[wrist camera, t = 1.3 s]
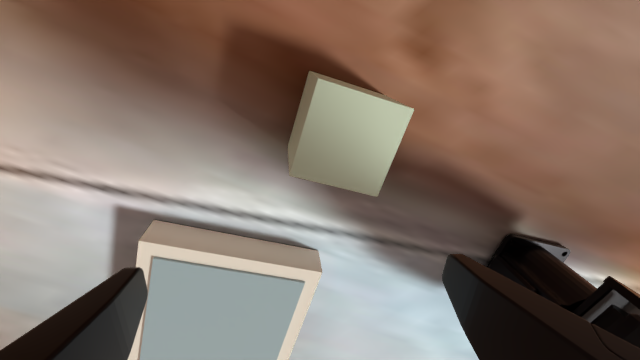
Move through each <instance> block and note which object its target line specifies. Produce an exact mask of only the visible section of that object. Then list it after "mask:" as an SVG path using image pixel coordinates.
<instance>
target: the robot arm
mask: <svg viewBox="0 0 640 360" xmlns="http://www.w3.org/2000/svg"><path fill="white" fill-rule="evenodd" d="M511 240H512V241H511ZM569 254H570V250H569V249H567V248H566V247H564V246H560V245H556V244H552V243H547V242H543V241H539V240H535V239H530V238H526V237H522V236H518V235H514V234H510V235H508V236H506V237H505V239H504V240H503V242H502V243H501V245H500V247H499V248H498V250H497V251H496V253H495V254H494V256H493V258H492V259H491V261H490V262H489V264H488V266H487V267H486V266H484V265H482V264H480V263H478V262H476V261H474V260H473V259H471V258H469V257H467V256H465V255H463V254H450V255H449V256H448V257H447V260H446V263H445V267H444V270H443V274H442V280H443V284H444V286H445V288H446V291H447V293H448V295H449V298H450V300H451V303H452V305H453V307H454V310H455V312H456V314H457V317H458V319H459V322H460V324H461V326H462V328H463V330H464V332H465V334H466V336H467V338H468V340H469V341H470V343H471V345H472V347H473V349H474V351H475V353H476V354H477V356H478V358H479V360H640V294H638V293H636V292H635V291H633V290H631V289H630V288H628V287H627V286H625V285H623V284H622V283H620V282H619V281H617V280H615V279H614V278H612V277H610V276H608V277H607V278H606V279H605V280H604V281H603V282H604V283H603V284H602V285H601V286H600V287H599V288H598V289H597V288H596V287H594V286H593V285H592V284H590V283H589V282H588V281H586V280H585V279H584V278H583V277H581V276H580V275H579V274H577V273H576V272H575V271H573V270H572V269H571V268H569V267H568V266H567V265H566V264H564V263H563V262H564V261H565V260H566V258H567V257H568V256H569ZM147 296H148V290H147V285H146V281H145V276H144V272H143V270H142V268H140V267H130V268H124V269H122V270H120V271H119V272H117V273H116V274H114V275H113V276H111V277H110V278H108V279H107V280H105V281H104V282H102V283H101V284H99V285H98V286H96V287H95V288H93V289H92V290H90V291H89V292H87V293H86V294H84V295H83V296H81V297H80V298H78V299H77V300H75V301H74V302H72V303H71V304H69V305H68V306H66V307H65V308H63V309H62V310H60V311H59V312H57V313H56V314H54V315H53V316H51V317H50V318H48V319H47V320H45V321H44V322H42V323H41V324H39V325H38V326H36V327H35V328H33V329H32V330H30V331H29V332H27V333H26V334H24V335H23V336H21V337H20V338H18V339H17V340H15V341H14V342H12V343H11V344H9V345H8V346H6V347H5V348H3V349H2V350H0V360H128V357H129V355H130V352H131V349H132V346H133V343H134V340H135V336H136V333H137V330H138V327H139V323H140V320H141V317H142V313H143V310H144V307H145V304H146V300H147Z"/></svg>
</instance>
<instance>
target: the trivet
mask: <svg viewBox="0 0 640 360" xmlns="http://www.w3.org/2000/svg"><path fill="white" fill-rule="evenodd" d="M136 267H140V268H142V270H143V272H144V276H145V281H146V285H147V290H148V296H147V300H146V304H145V307H144V310H143V313H142V317H141V320H140V323H139V327H138V330H137V333H136V336H135V340H134V343H133V346H132V349H131V352H130V355H129V357H128V360H289V357H290V354H291V352H292V349H293V347H294V344H295V342H296V339H297V336H298V334H299V331H300V329H301V326H302V324H303V321H304V318H305V316H306V313H307V311H308V308H309V305H310V303H311V300H312V298H313V295H314V293H315V290H316V287H317V285H318V282H319V280H320V277H321V275H322V268H321V263H320V257H319V252H318V251H317V250H311V249H306V248H301V247H295V246H290V245H285V244H280V243H274V242H269V241H264V240H259V239H253V238H248V237H243V236H237V235H232V234H227V233H222V232H216V231H211V230H206V229H200V228H195V227H190V226H185V225H179V224H174V223H169V222H163V221H158V220H153V222H152V223H151V225H150V226H149V227H148V229H147V230H146V231H145V233H144V234H143V235H142V237H141V238H140V240H139V242H138V251H137V260H136Z"/></svg>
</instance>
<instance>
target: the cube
mask: <svg viewBox="0 0 640 360" xmlns="http://www.w3.org/2000/svg"><path fill="white" fill-rule="evenodd" d="M413 111H414V109H413V108H411V107H409V106H407V105H404V104H402V103H400V102H398V101H396V100H394V99H392V98H390V97H387V96H385V95H383V94H380V93H377V92H374V91H371V90H368V89H365V88H361V87H358V86H355V85H352V84H349V83H346V82H343V81H340V80H337V79H334V78H331V77H328V76H325V75H322V74H319V73H315V72H312V71H309V73H308V76H307V80H306V83H305V87H304V91H303V94H302V98H301V101H300V105H299V108H298V112H297V115H296V119H295V122H294V126H293V129H292V133H291V136H290V140H289V144H288V163H289V176H292V177H296V178H300V179H305V180H309V181H313V182H317V183H321V184H325V185H329V186H334V187H338V188H342V189H346V190H350V191H354V192H358V193H363V194H367V195H371V196H375V197H377V196H378V194H379V192H380V189H381V187H382V185H383V182H384V180H385V177H386V175H387V173H388V170H389V168H390V166H391V163H392V161H393V159H394V156H395V154H396V151H397V149H398V147H399V144H400V142H401V140H402V137H403V135H404V132H405V130H406V128H407V125H408V123H409V121H410V118H411V116H412V113H413Z"/></svg>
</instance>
